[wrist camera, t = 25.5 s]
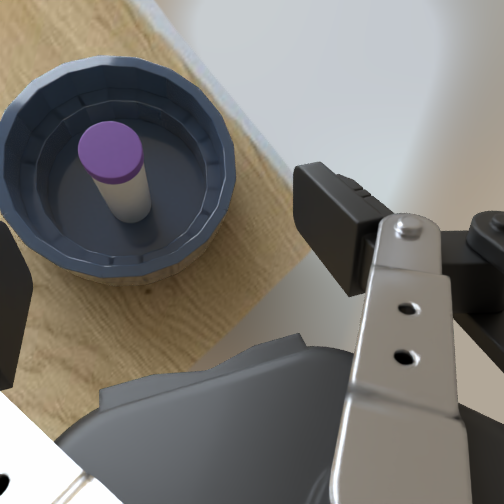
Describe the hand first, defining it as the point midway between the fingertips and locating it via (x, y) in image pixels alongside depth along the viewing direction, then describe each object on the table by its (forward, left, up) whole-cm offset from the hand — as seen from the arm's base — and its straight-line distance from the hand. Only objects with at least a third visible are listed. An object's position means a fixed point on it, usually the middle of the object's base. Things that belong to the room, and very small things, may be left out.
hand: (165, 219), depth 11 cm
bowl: (+5, -7, -21) cm, 22 cm away
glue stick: (+5, -6, -20) cm, 22 cm away
